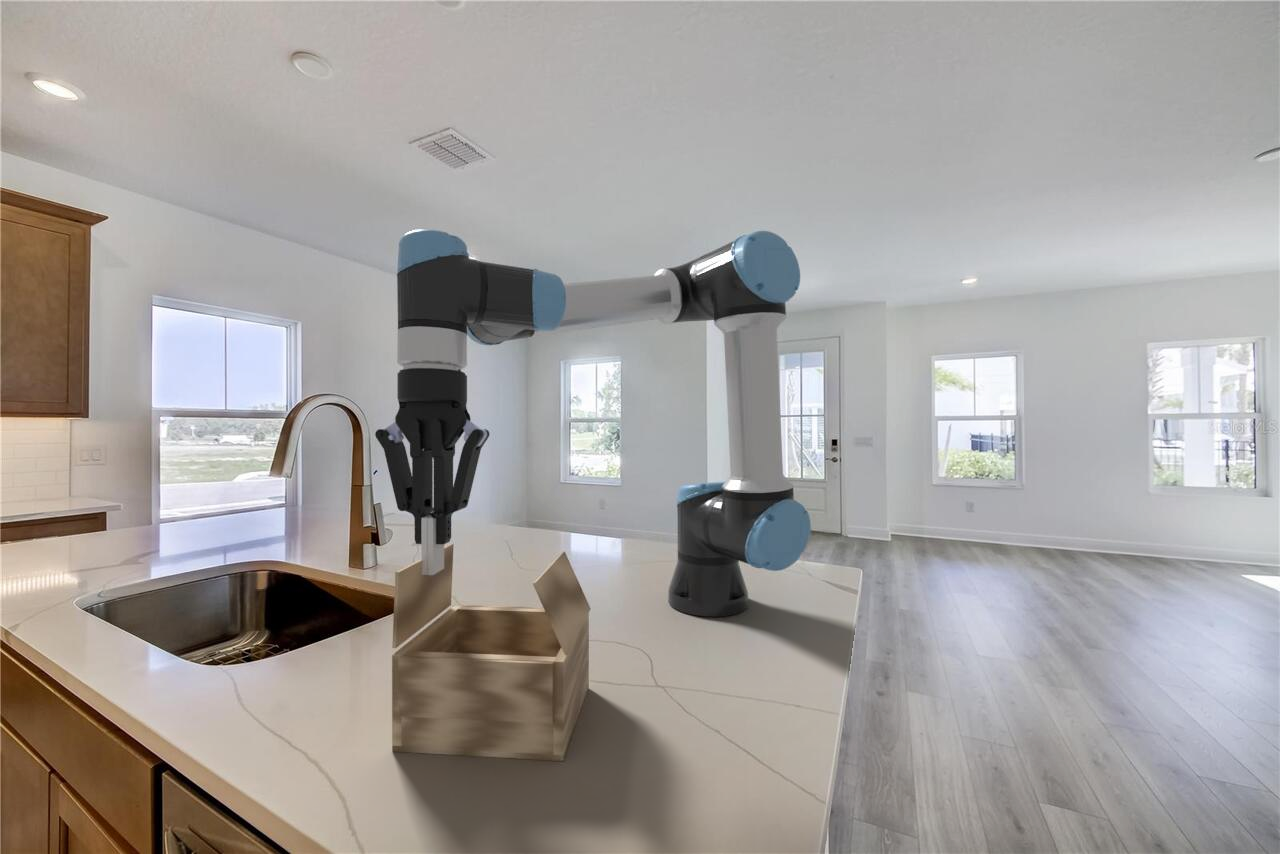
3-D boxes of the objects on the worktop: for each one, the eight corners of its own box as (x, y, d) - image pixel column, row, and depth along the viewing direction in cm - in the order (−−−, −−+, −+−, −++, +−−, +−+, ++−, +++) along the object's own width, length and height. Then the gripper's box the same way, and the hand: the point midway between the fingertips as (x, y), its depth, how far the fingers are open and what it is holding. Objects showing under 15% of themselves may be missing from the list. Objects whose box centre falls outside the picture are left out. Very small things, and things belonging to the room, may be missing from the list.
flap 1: (453, 543, 65) (450, 543, 65) (399, 572, 52) (395, 572, 52) (450, 605, 65) (447, 604, 65) (395, 648, 52) (392, 647, 52)
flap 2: (587, 609, 63) (590, 608, 63) (565, 655, 51) (568, 654, 51) (561, 552, 64) (564, 551, 64) (532, 583, 51) (536, 582, 51)
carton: (589, 685, 65) (589, 608, 65) (562, 764, 50) (562, 664, 50) (455, 680, 66) (455, 604, 66) (389, 754, 51) (389, 657, 51)
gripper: (498, 372, 62) (498, 564, 62) (397, 373, 63) (397, 561, 63) (473, 365, 54) (473, 582, 54) (359, 366, 55) (359, 580, 55)
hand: (433, 571), depth 58 cm, fingers closed
